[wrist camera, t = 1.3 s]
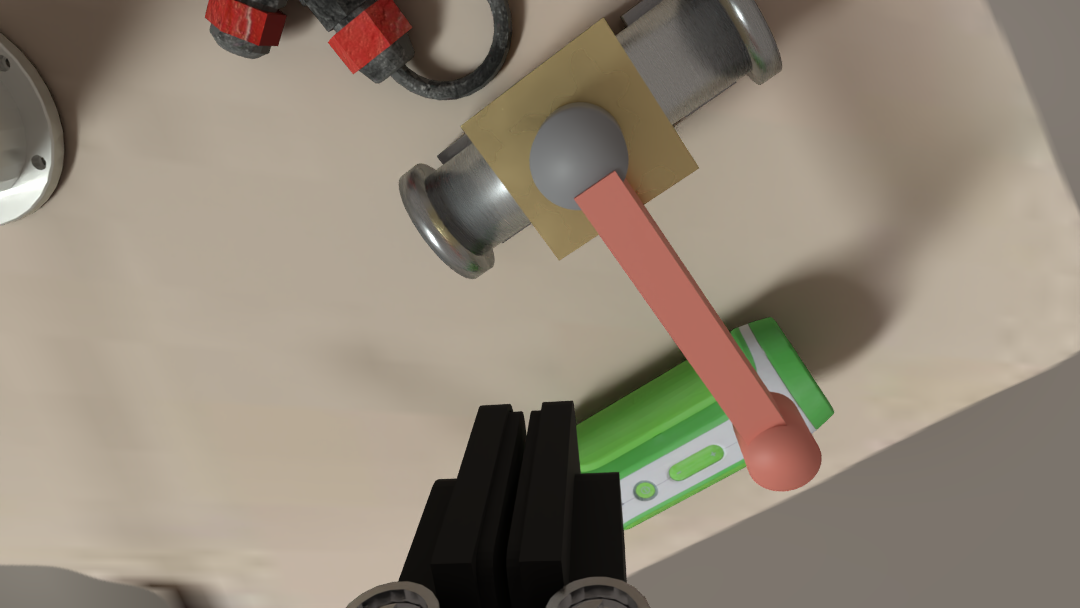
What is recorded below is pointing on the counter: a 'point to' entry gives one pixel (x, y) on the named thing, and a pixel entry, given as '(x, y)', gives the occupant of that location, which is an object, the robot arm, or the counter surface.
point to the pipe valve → (606, 81)
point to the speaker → (689, 426)
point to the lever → (669, 288)
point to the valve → (356, 39)
